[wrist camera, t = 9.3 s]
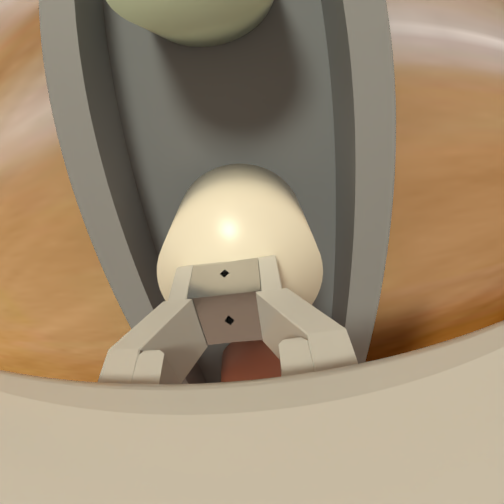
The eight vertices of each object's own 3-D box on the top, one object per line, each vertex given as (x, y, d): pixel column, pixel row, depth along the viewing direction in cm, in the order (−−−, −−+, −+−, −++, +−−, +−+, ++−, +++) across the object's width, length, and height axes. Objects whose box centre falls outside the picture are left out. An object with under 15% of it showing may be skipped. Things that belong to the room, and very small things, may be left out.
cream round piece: (297, 156, 11) (323, 193, 8) (303, 266, 14) (320, 328, 11) (166, 174, 11) (135, 218, 8) (193, 279, 14) (181, 343, 11)
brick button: (302, 327, 17) (314, 383, 14) (302, 376, 20) (310, 424, 16) (214, 336, 17) (210, 393, 14) (229, 383, 20) (228, 432, 17)
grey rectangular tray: (324, -95, 6) (346, -129, 3) (340, 376, 23) (349, 414, 20) (80, -54, 6) (43, -75, 3) (197, 391, 23) (194, 430, 20)
